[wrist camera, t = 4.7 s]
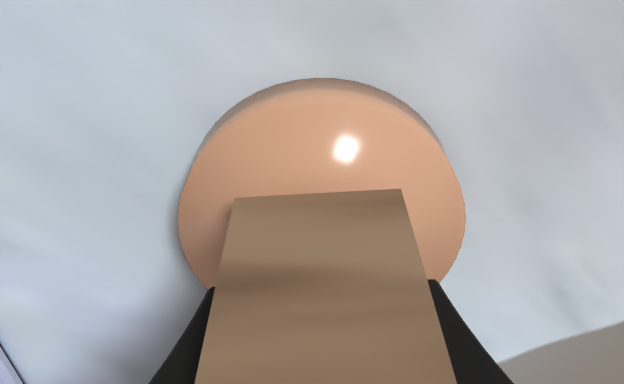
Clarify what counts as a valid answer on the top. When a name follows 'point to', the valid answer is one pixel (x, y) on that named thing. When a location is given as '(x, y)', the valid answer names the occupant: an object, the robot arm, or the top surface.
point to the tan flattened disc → (320, 165)
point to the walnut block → (323, 295)
